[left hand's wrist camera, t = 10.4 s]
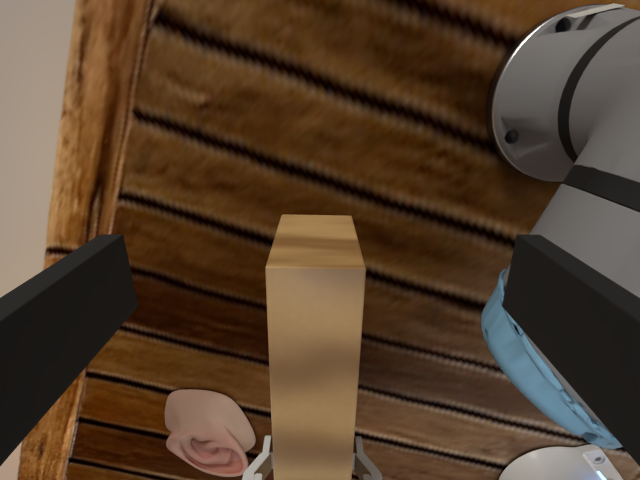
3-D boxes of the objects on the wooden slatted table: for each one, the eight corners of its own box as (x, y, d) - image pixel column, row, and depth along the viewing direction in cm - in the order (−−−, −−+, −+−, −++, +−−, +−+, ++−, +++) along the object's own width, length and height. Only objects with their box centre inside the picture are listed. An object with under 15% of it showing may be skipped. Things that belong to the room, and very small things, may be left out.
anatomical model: (138, 418, 45) (229, 404, 44) (152, 393, 49) (235, 380, 48) (174, 490, 50) (256, 478, 49) (184, 462, 54) (261, 451, 53)
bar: (281, 214, 26) (265, 266, 18) (351, 215, 26) (366, 268, 18) (286, 440, 33) (276, 546, 26) (340, 441, 34) (346, 547, 26)
